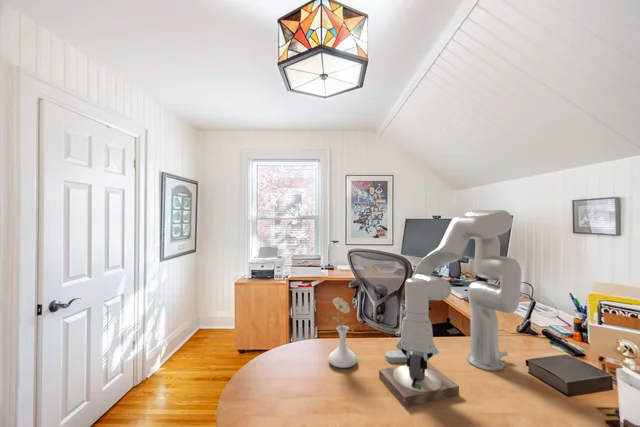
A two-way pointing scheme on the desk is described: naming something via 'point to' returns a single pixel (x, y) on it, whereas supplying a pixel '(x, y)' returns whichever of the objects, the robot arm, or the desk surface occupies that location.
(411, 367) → the dark grey boxy piece
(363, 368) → the desk surface
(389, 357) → the electronic device
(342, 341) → the flower in vase
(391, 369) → the board
